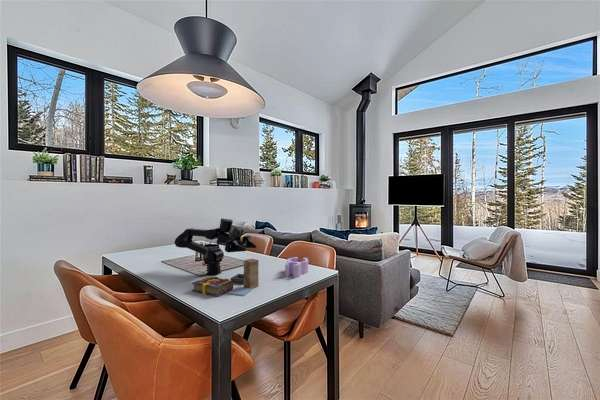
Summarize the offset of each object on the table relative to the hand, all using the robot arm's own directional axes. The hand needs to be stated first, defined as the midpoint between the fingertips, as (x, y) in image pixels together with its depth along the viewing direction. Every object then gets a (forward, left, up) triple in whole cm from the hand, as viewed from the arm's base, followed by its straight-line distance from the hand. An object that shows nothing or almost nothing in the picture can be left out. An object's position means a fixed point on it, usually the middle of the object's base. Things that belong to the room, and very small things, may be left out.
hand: (251, 248), depth 142 cm
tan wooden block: (+5, -10, -16) cm, 20 cm away
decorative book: (-9, -20, -17) cm, 28 cm away
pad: (+3, -18, -16) cm, 25 cm away
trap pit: (-4, -4, -16) cm, 17 cm away
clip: (+19, +19, -17) cm, 32 cm away
